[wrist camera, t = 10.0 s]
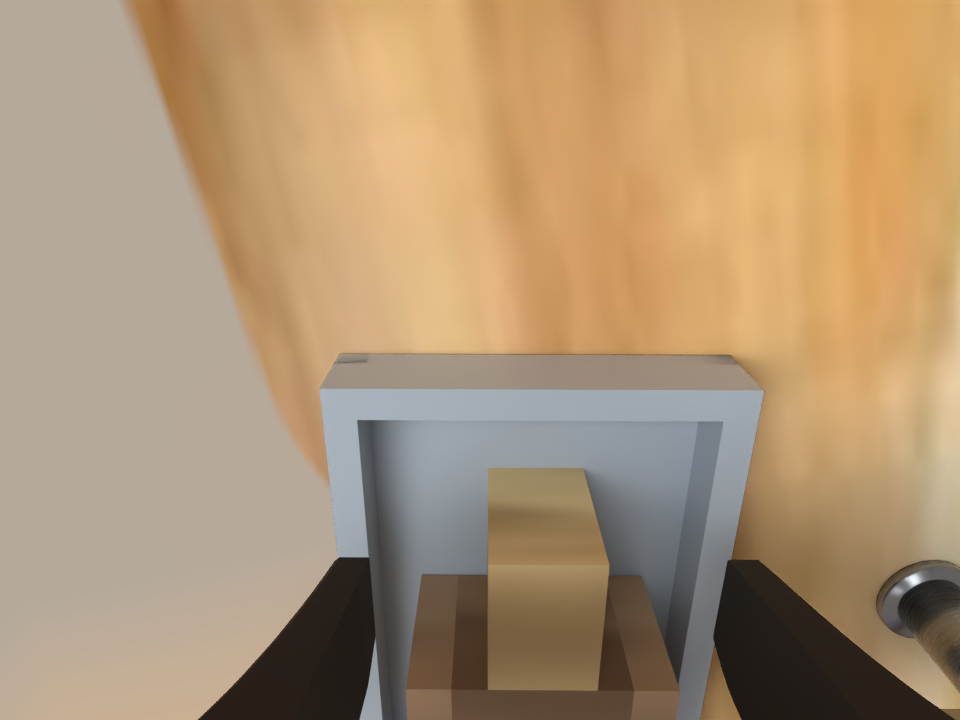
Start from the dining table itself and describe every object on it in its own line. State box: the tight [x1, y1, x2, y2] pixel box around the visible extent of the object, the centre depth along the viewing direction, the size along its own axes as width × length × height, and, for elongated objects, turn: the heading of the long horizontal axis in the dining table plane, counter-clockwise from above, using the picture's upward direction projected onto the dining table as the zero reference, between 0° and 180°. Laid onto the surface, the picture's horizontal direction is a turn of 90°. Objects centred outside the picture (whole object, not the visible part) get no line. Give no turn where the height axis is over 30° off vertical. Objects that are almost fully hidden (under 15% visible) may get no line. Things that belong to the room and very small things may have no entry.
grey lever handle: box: [877, 561, 960, 720], centre depth 16 cm, size 3×5×5 cm, turn 90°
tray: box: [320, 354, 764, 720], centre depth 17 cm, size 13×10×2 cm
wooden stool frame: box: [406, 468, 680, 720], centre depth 16 cm, size 9×6×4 cm, turn 0°
